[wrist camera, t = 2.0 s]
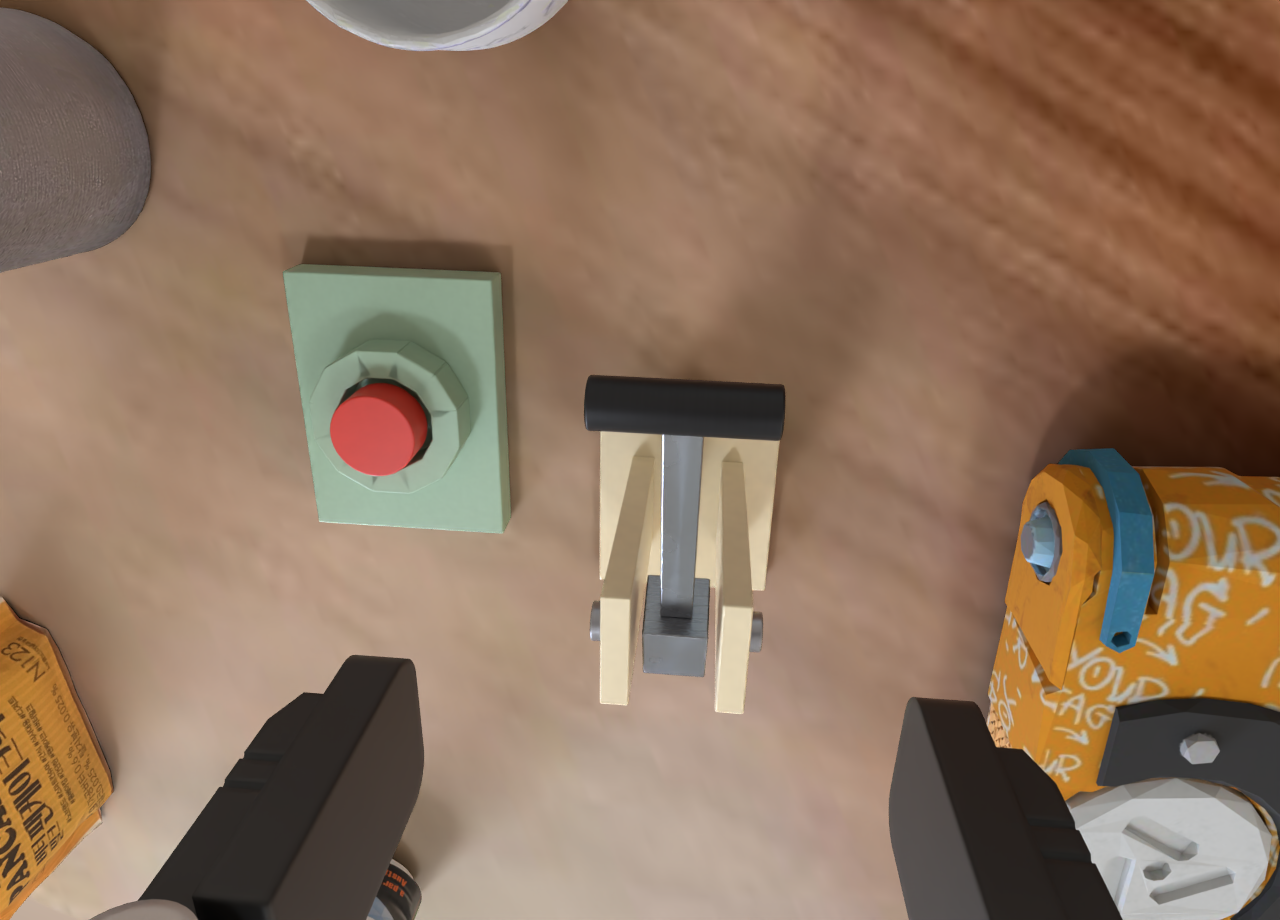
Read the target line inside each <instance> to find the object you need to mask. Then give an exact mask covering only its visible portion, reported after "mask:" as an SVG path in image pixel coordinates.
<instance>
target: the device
mask: <svg viewBox="0 0 1280 920" xmlns="http://www.w3.org/2000/svg"><path fill="white" fill-rule="evenodd" d="M1005 603H1006V605H1007V610H1006V615H1005V619H1004V623H1003V628H1002V632H1001V637H1000V641H999V646H998V650H997V654H996V659H995V663H994V668H993V672H992V677H991V681H990V685H989V690H988V696H989V698H990V700H991V702H990V708H989V713H988V719H987V727H988V729H989V731H990V734H991V736H992V738H993V741H994V743H995V745H996V747H1002V748H1015V749H1023V750H1024V751H1025V752H1026V753H1027V754H1028V755H1029V756H1030V757H1031V758H1032V760H1033V761H1034V762H1035V763H1036V764H1037V765H1038V766H1039V767H1040V768H1041V769H1042V770H1043V771H1044V772H1045V773H1046V774H1047V775H1048V776H1049V777H1050V778H1051V779H1052V780H1053V781H1054V782H1055V783H1056V784H1057V786H1058V788H1059V790H1060V792H1061V794H1062V796H1063V798H1064V800H1065V802H1066V804H1067V806H1068V808H1069V810H1070V813H1071V815H1072V817H1073V819H1074V821H1075V828H1076V830H1079V831H1080V833H1081V835H1082V837H1083V839H1084V841H1085V843H1086V845H1087V847H1088V849H1089V851H1090V853H1091V861H1092V863H1095V864H1096V866H1097V868H1098V870H1099V872H1100V874H1101V876H1102V878H1103V880H1104V882H1105V884H1106V886H1107V888H1108V890H1109V892H1110V894H1111V896H1112V898H1113V901H1114V903H1115V905H1116V907H1117V909H1118V911H1119V913H1120V915H1121V917H1122V919H1123V920H1280V477H1259V476H1238V475H1236V474H1234V473H1232V472H1230V471H1229V470H1227V469H1225V468H1222V467H1158V466H1131V465H1130V464H1129V463H1128V462H1127V461H1126V460H1125V459H1124V458H1123V457H1122V456H1121V455H1120V454H1119V453H1118V452H1117V451H1116V450H1115V449H1114V448H1106V449H1077V450H1069V451H1068V452H1067V454H1066V455H1065V456H1064V457H1063V458H1062V459H1061V460H1060V462H1059V463H1058V464H1048V465H1047V466H1046V467H1045V468H1044V469H1043V470H1042V471H1041V472H1040V473H1039V474H1037V475H1036V476H1035V477H1034V478H1033V479H1032V480H1031V483H1030V485H1029V488H1028V490H1027V493H1026V496H1025V498H1024V501H1023V505H1022V515H1021V522H1020V528H1019V533H1018V539H1017V545H1016V549H1015V554H1014V559H1013V564H1012V569H1011V574H1010V578H1009V583H1008V588H1007V593H1006V598H1005Z"/></svg>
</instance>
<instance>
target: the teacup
mask: <svg viewBox="0 0 1280 920" xmlns="http://www.w3.org/2000/svg"><path fill="white" fill-rule="evenodd" d="M306 1H307V2H308V3H310V4H311V5H312V6H313V7H314V8H315V9H316V10H317V11H319V12H320V13H321V14H322V15H324V16H325V17H326V18H328V19H329V20H330V21H332V22H333V23H335V24H336V25H338V26H339V27H341V28H343V29H345V30H347V31H349V32H351V33H353V34H355V35H357V36H359V37H362V38H364V39H366V40H369V41H372V42H374V43H377V44H380V45H383V46H386V47H390V48H397V49H403V50H411V51H432V50H450V51H469V50H482V49H488V48H494V47H497V46H501V45H504V44H507V43H510V42H513V41H515V40H517V39H520V38H522V37H524V36H526V35H527V34H529V33H531V32H533V31H534V30H536V29H537V28H539V27H540V26H542V25H543V24H544V23H546V22H547V21H548V20H549V19H551V18H552V17H553V16H554V15H555V14H556V13H557V12H558V11H559V10H560V9H561V8H562V7H563V6H564V5H565V4H566V3H567V1H568V0H306Z"/></svg>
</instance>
